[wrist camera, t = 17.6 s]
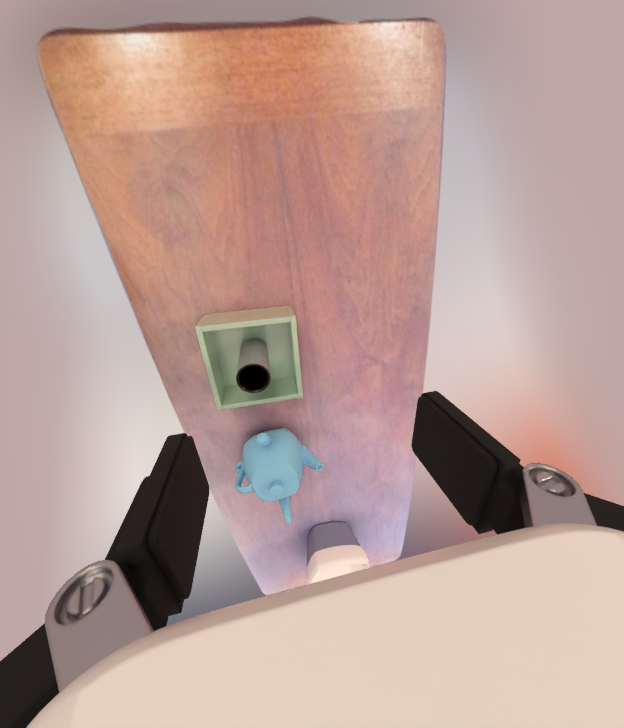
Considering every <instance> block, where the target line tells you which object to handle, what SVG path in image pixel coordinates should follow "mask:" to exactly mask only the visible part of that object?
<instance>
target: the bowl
mask: <svg viewBox="0 0 624 728" xmlns="http://www.w3.org/2000/svg"><path fill="white" fill-rule="evenodd" d="M369 566H370V562H369V559H368V557H367V556H366V554H365V552H364V550H363V549H362V547H361V546H360V544H359V542H358V541H357V539H356V537H355V536H354V534H353V532H352V530H351V529H350V527H349V525H348V524H347V523H344V522H329V523H324V524H320V525H317V526H314V527H313V528H312V530H311V532H310V534H309V536H308V544H307V583H306V585H308V584H311V583H315V582H319V581H322V580H326V579H330V578H334V577H337V576H341V575H345V574H348V573H352V572H356V571H360V570H363V569H367V568H369Z"/></svg>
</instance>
